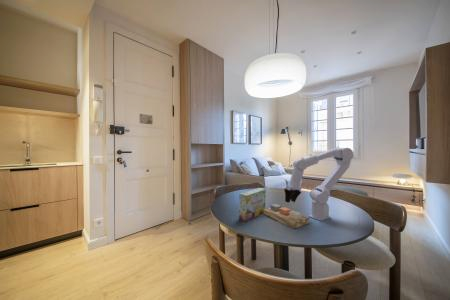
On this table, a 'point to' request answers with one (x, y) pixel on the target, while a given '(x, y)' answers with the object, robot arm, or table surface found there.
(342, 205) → the table surface
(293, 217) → the cream key
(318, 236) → the table surface
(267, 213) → the key console
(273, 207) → the slate key
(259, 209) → the snack box
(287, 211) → the terracotta key
